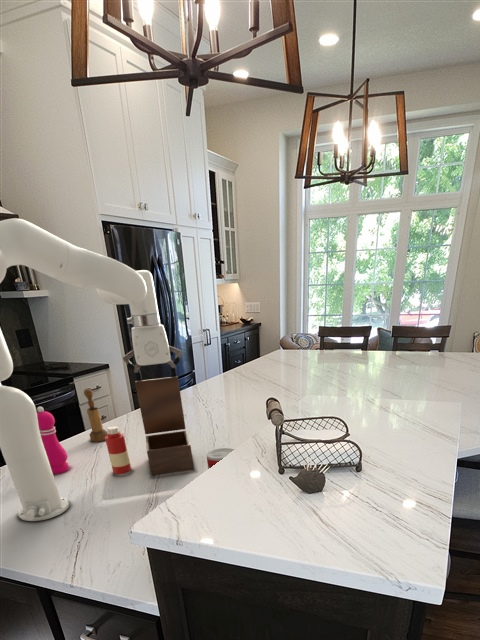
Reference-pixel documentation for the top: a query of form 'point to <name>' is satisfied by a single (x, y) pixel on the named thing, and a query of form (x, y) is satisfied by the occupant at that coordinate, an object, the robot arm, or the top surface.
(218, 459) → the canned food
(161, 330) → the robot arm
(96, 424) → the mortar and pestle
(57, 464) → the pepper mill
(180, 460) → the bread box
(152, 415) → the bread box lid
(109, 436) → the ketchup bottle
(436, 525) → the top surface
